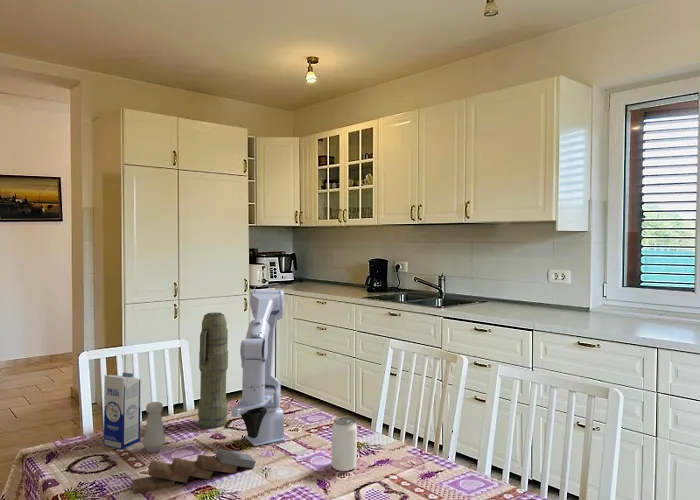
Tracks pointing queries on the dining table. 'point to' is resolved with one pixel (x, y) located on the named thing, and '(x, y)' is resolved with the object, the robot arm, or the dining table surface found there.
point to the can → (344, 444)
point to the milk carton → (122, 410)
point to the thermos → (213, 371)
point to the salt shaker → (154, 428)
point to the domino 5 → (235, 458)
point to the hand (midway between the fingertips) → (252, 436)
